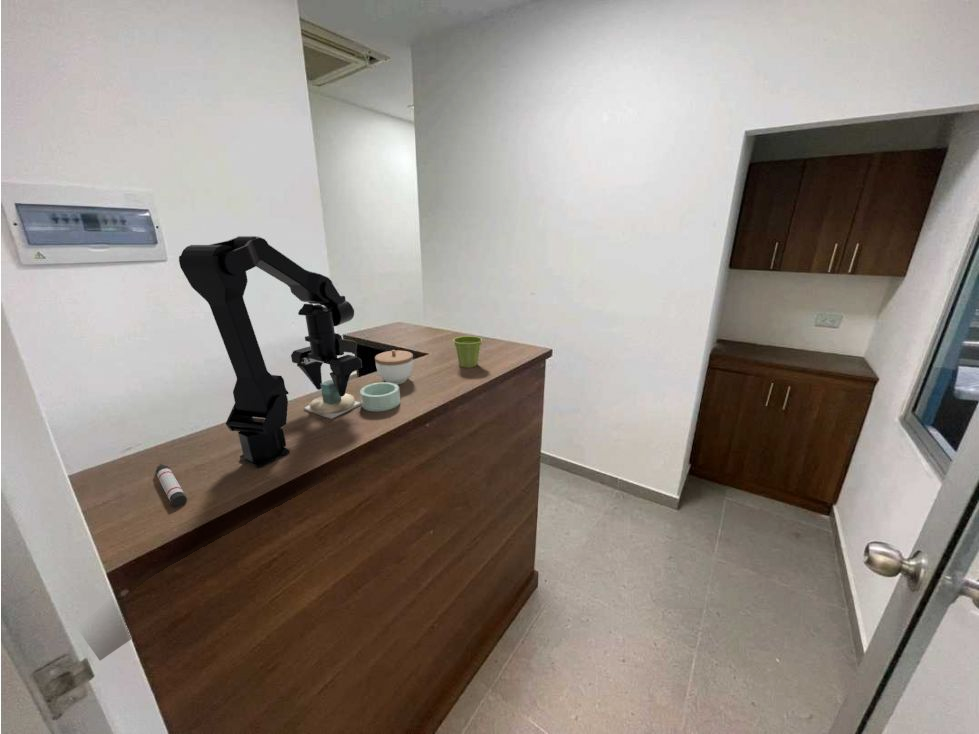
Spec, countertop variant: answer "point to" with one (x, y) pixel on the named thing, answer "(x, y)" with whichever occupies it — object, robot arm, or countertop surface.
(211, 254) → the robot arm
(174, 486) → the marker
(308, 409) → the mat
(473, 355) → the plant pot
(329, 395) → the lid
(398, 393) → the bowl
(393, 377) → the lidded jar
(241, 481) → the countertop surface
